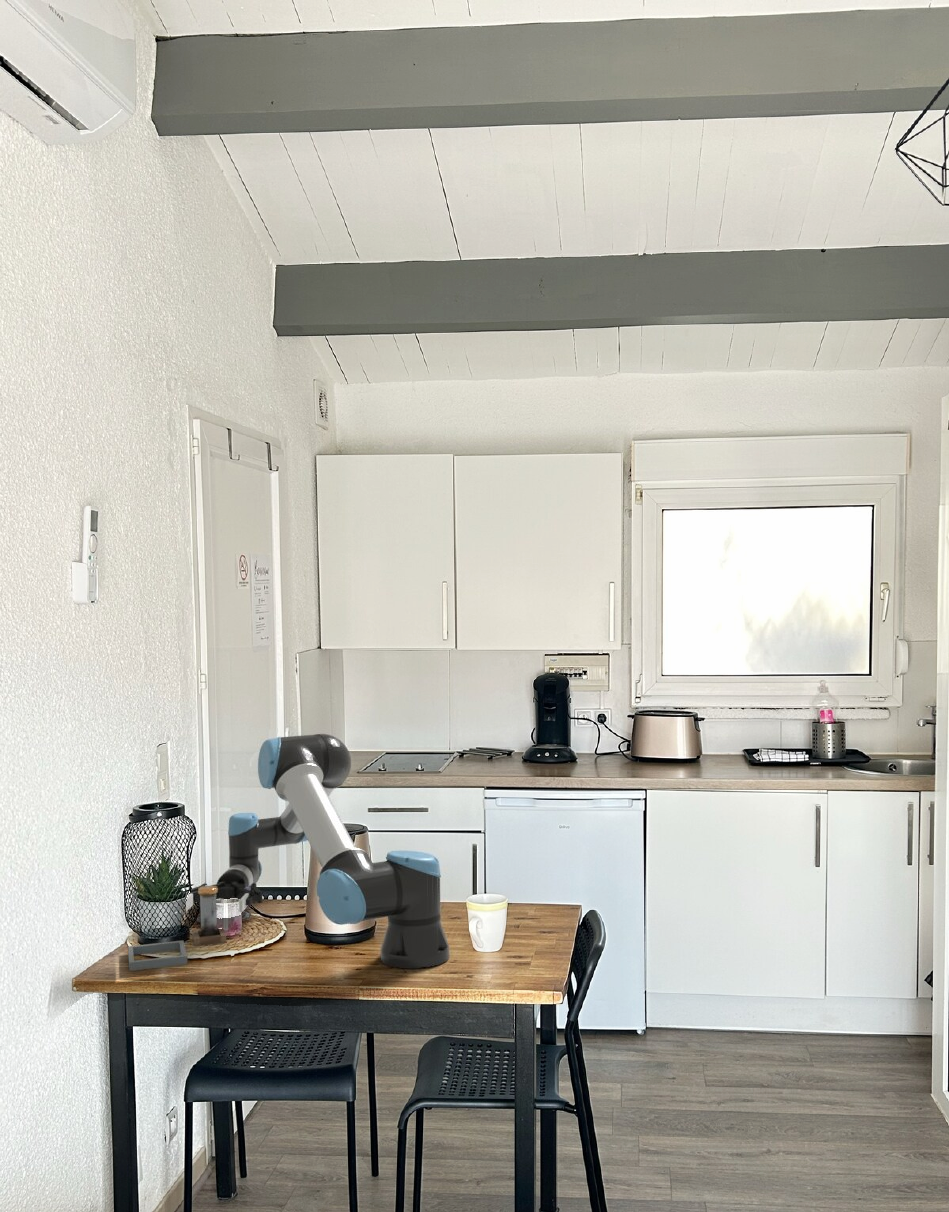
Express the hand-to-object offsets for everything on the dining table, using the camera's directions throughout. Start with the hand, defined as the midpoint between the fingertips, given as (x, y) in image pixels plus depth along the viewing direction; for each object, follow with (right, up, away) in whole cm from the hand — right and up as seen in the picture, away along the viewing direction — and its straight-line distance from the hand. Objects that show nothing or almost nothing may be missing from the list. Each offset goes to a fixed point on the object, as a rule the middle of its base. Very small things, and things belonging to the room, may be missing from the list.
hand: (212, 906), depth 267 cm
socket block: (0, -7, -5) cm, 9 cm away
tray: (-8, -8, -18) cm, 21 cm away
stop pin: (0, -6, -5) cm, 8 cm away
